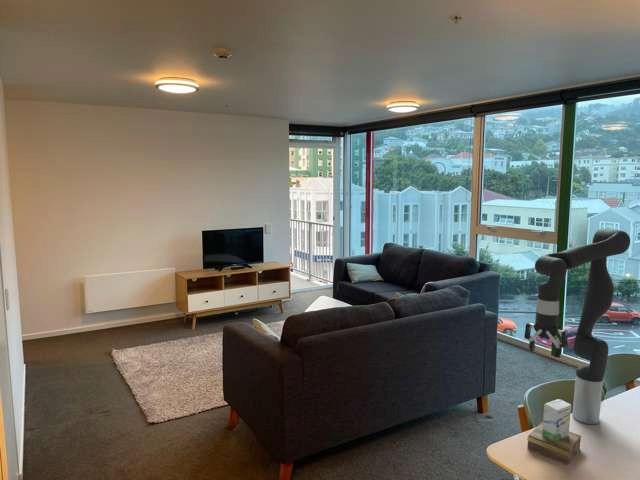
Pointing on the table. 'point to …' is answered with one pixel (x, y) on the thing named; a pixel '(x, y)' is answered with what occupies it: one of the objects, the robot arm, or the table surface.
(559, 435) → the ink box
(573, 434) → the walnut dock
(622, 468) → the table surface
